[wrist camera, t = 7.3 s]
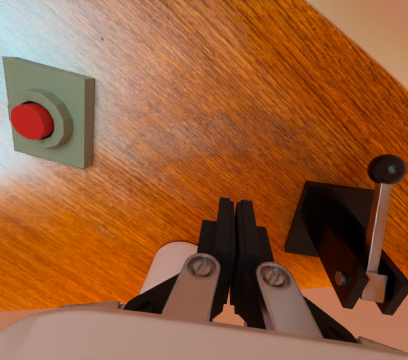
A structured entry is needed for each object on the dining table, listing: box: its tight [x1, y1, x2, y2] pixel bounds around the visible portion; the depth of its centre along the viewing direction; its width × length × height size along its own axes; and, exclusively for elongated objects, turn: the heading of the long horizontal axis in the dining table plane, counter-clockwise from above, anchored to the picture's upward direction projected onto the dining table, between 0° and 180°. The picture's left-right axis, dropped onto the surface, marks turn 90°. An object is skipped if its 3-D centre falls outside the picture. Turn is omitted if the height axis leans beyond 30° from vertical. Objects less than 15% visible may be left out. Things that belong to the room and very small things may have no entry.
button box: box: [2, 57, 95, 169], centre depth 30 cm, size 12×10×4 cm
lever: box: [359, 154, 407, 303], centre depth 24 cm, size 15×3×3 cm, turn 174°
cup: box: [139, 242, 198, 295], centre depth 36 cm, size 10×10×10 cm
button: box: [10, 103, 54, 140], centre depth 28 cm, size 4×4×2 cm
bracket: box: [284, 181, 408, 315], centre depth 29 cm, size 12×10×13 cm
